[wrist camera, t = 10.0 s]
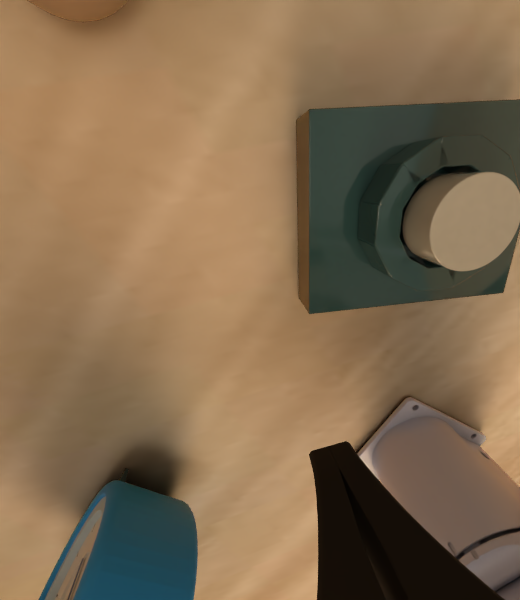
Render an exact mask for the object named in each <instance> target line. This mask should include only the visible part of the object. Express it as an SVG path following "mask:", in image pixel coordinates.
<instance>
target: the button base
mask: <svg viewBox="0 0 520 600" xmlns="http://www.w3.org/2000/svg"><path fill="white" fill-rule="evenodd" d="M296 136H297V207H298V278H299V299H300V301H301V302H302V304H303V305H304V307H305V308H306V310H307V311H308V313H309V314H314V313H323V312H332V311H341V310H350V309H359V308H369V307H378V306H387V305H396V304H405V303H414V302H424V301H433V300H442V299H451V298H460V297H469V296H479V295H488V294H497V293H503V292H504V288H505V284H506V280H507V277H508V273H509V269H510V265H511V261H512V257H513V254H514V250H515V246H516V242H517V238H518V234H519V231H520V223H519V226H518V229H517V231H516V234H515V235H514V237H513V239H512V241H511V242H510V243H509V245H508V246H507V247H506V249H505V250H504V251H503V252H502V253H501V254H500V255H499V256H498V257H497V258H495V259H494V260H493V261H491V262H490V263H488V264H486V265H485V266H483V267H480V268H478V269H475V270H470V271H454V270H450V269H447V268H445V267H442V266H440V265H437V264H434V263H432V262H429V261H427V260H424V259H422V258H419V257H417V256H416V255H414V254H413V253H412V252H411V251H410V249H409V248H408V247H407V245H406V243H405V240H404V237H403V230H402V225H403V217H404V214H405V210H406V208H407V205H408V204H409V202H410V200H411V198H412V197H413V195H414V194H415V193H416V192H417V191H418V189H419V188H420V187H422V186H423V185H424V184H425V183H426V182H428V181H429V180H431V179H433V178H435V177H437V176H439V175H442V174H447V173H464V172H496V173H500V174H503V175H505V176H506V177H508V178H509V179H510V180H512V181H513V182H514V184H515V185H516V186H517V188H518V190H519V193H520V99H516V100H495V101H473V102H452V103H431V104H409V105H388V106H366V107H345V108H324V109H309V110H308V111H307V112H306V113H304V114H303V115H302V116H301V117H299V118H298V119H297V120H296Z"/></svg>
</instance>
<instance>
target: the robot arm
mask: <svg viewBox="0 0 520 600" xmlns="http://www.w3.org/2000/svg"><path fill="white" fill-rule="evenodd" d="M413 406H414V407H413ZM485 440H486V436H485V435H484V434H483V433H482V432H480V431H478V430H476V429H474V428H472V427H470V426H468V425H466V424H464V423H462V422H460V421H458V420H456V419H454V418H452V417H450V416H448V415H446V414H444V413H442V412H440V411H438V410H436V409H434V408H432V407H430V406H428V405H426V404H424V403H422V402H420V401H418V400H416V399H414V398H412V397H409V398H406V399H405V400H404V401H403V402H402V403H401V404H400V405H399V406H398V407H397V409H396V410H395V411H394V412H393V413H392V414H391V415H390V417H389V418H388V419H387V420H386V421H385V422H384V423H383V425H382V426H381V427H380V428H379V429H378V430H377V431H376V433H375V434H374V435H373V436H372V437H371V438H370V439H369V441H368V442H367V443H366V444H365V445H364V446H363V447H362V448H361V450H360V451H359V452H358V453H356V452H355V450H354V449H353V448H352V446H351V445H350V443H348V442H346V441H345V442H342V443H338V444H335V445H331V446H328V447H324V448H321V449H317V450H313V451H311V452H310V454H309V456H310V460H311V464H312V468H313V472H314V479H315V487H316V497H317V513H318V590H317V600H520V487H519V486H518V485H517V484H516V483H515V482H514V481H513V480H512V479H511V478H510V477H509V476H508V475H507V474H506V473H505V472H504V471H503V470H502V469H501V468H500V467H499V466H498V465H497V464H496V462H495V461H494V460H493V459H492V458H491V457H490V456H489V455H488V454H487V453H486V452H485V451H484V450H483V449H482V448H481V447H480V445H481V444H482V443H483V442H484V441H485ZM379 480H380V481H381V482H382V484H383V485H382V484H381V482H380V481H379Z"/></svg>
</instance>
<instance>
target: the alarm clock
mask: <svg viewBox="0 0 520 600" xmlns="http://www.w3.org/2000/svg"><path fill="white" fill-rule="evenodd" d="M128 470H129V469H125V470H124V472H123V473H122V475H121V477H120V479H119V480H114V481H111V482H109V483H108V484H106V485H105V486H104V487H103V488H102V489H101V490H100V491H99V493H98V494H97V495H96V497H95V498H94V499H93V501H92V502H91V504H90V505H89V507H88V509H87V510H86V512H85V513H84V515H83V517H82V518H81V520H80V522H79V523H78V525H77V527H76V529H75V530H74V532H73V534H72V536H71V537H70V539H69V541H68V543H67V545H66V547H65V548H64V550H63V552H62V554H61V556H60V558H59V560H58V562H57V564H56V566H55V568H54V570H53V572H52V574H51V576H50V578H49V580H48V582H47V584H46V586H45V588H44V590H43V592H42V594H41V596H40V598H39V600H193V599H194V592H195V583H196V573H197V555H198V552H197V530H196V523H195V519H194V516H193V513H192V511H191V509H190V507H189V506H188V505H187V504H186V503H185V502H183V501H181V500H178V499H175V498H172V497H169V496H166V495H163V494H159V493H156V492H153V491H150V490H147V489H144V488H141V487H138V486H135V485H132V484H129V483H126V482H125V481H126V477H127V474H128Z"/></svg>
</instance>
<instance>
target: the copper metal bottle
mask: <svg viewBox="0 0 520 600" xmlns="http://www.w3.org/2000/svg"><path fill="white" fill-rule="evenodd" d="M27 1H29V2H31V3H32V4H34V5H36V6H38V7H39V8H41V9H43V10H45V11H47V12H48V13H50V14H52V15H55V16H58V17H60V18H63V19H66V20H70V21H78V22H90V21H98V20H101V19H103V18H106V17H108V16H110V15H112V14H114V13H115V12H116V11H118V10H119V9H120V8H121V7H123V6H124V5H125V3H126V2H127V1H128V0H27Z"/></svg>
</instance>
